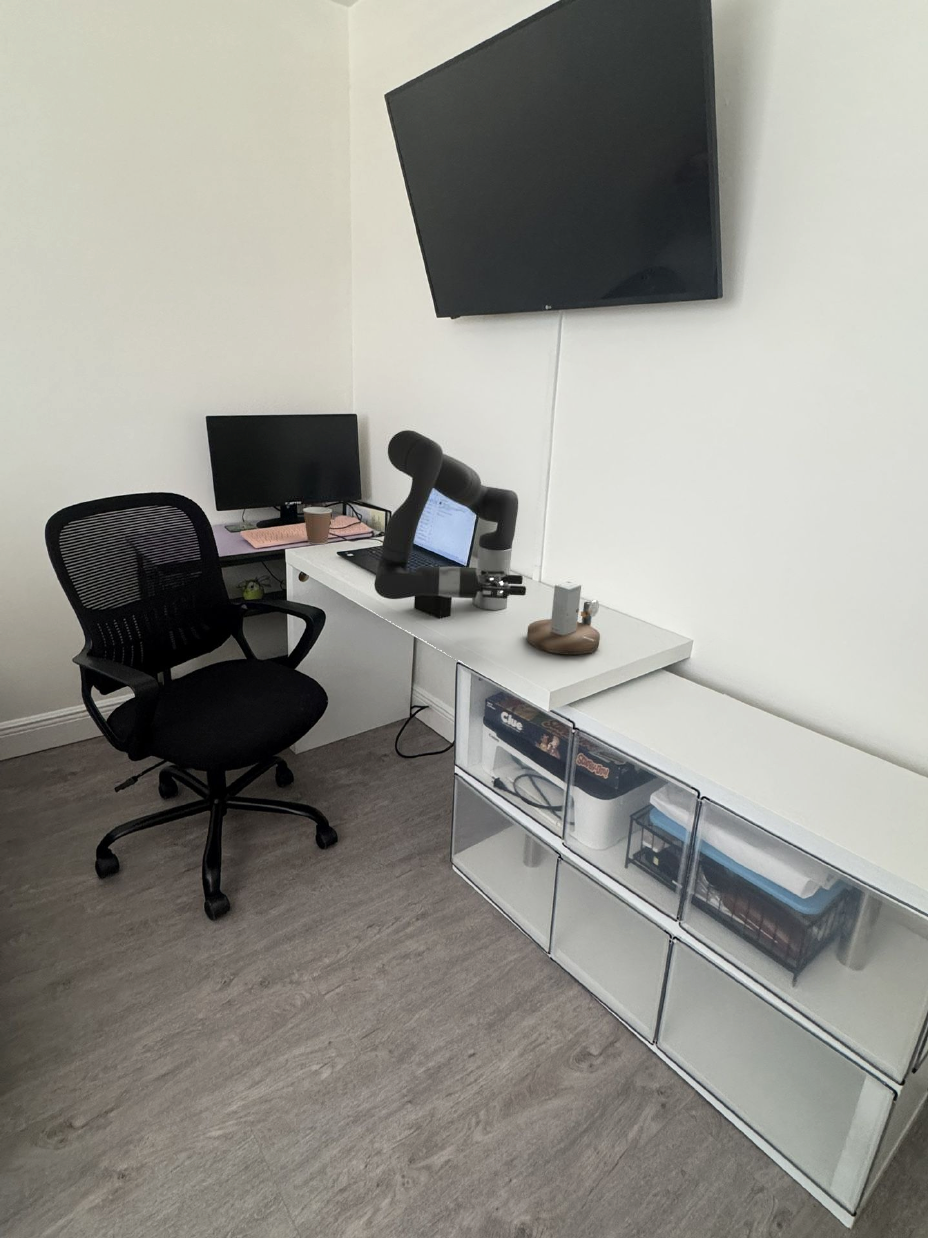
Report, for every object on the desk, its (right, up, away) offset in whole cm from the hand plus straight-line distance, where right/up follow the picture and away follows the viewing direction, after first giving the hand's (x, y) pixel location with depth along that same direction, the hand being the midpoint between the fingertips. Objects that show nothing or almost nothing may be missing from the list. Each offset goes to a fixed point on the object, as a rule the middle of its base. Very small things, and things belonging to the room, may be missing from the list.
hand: (524, 585), depth 171 cm
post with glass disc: (+17, -12, +14) cm, 25 cm away
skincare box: (+10, -12, +4) cm, 16 cm away
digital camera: (-23, -7, +22) cm, 32 cm away
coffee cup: (-68, +20, +86) cm, 111 cm away
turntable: (+10, -14, +5) cm, 18 cm away
